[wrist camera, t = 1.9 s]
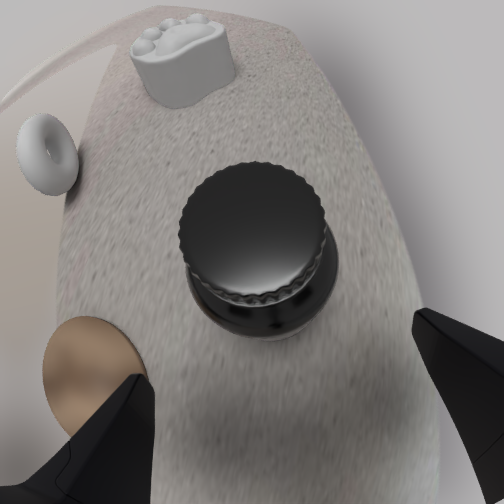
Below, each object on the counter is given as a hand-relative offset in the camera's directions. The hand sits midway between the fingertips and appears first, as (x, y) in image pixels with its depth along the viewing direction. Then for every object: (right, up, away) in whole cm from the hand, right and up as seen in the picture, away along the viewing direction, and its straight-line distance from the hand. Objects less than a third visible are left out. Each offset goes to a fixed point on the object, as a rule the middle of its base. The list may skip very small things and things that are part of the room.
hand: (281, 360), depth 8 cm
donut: (-22, +12, +19) cm, 32 cm away
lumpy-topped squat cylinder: (-10, +26, +23) cm, 36 cm away
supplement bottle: (+1, 0, +12) cm, 12 cm away
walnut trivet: (-14, -8, +11) cm, 20 cm away
